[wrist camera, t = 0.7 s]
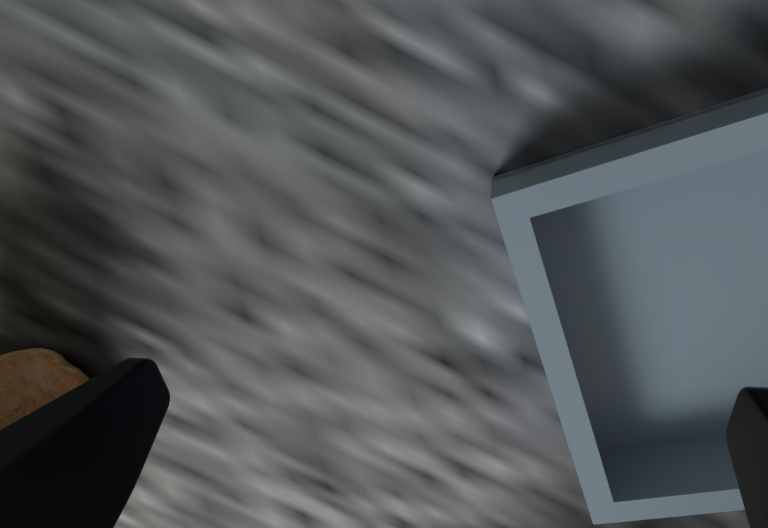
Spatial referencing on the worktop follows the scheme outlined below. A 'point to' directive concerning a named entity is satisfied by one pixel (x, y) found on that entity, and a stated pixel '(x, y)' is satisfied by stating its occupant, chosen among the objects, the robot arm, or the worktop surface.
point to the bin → (649, 301)
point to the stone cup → (33, 381)
